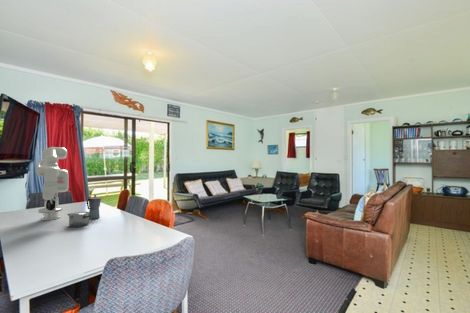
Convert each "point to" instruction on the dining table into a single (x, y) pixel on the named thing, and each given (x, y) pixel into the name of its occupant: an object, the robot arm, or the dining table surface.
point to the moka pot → (94, 206)
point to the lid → (49, 209)
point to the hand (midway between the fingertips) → (50, 208)
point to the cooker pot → (78, 219)
